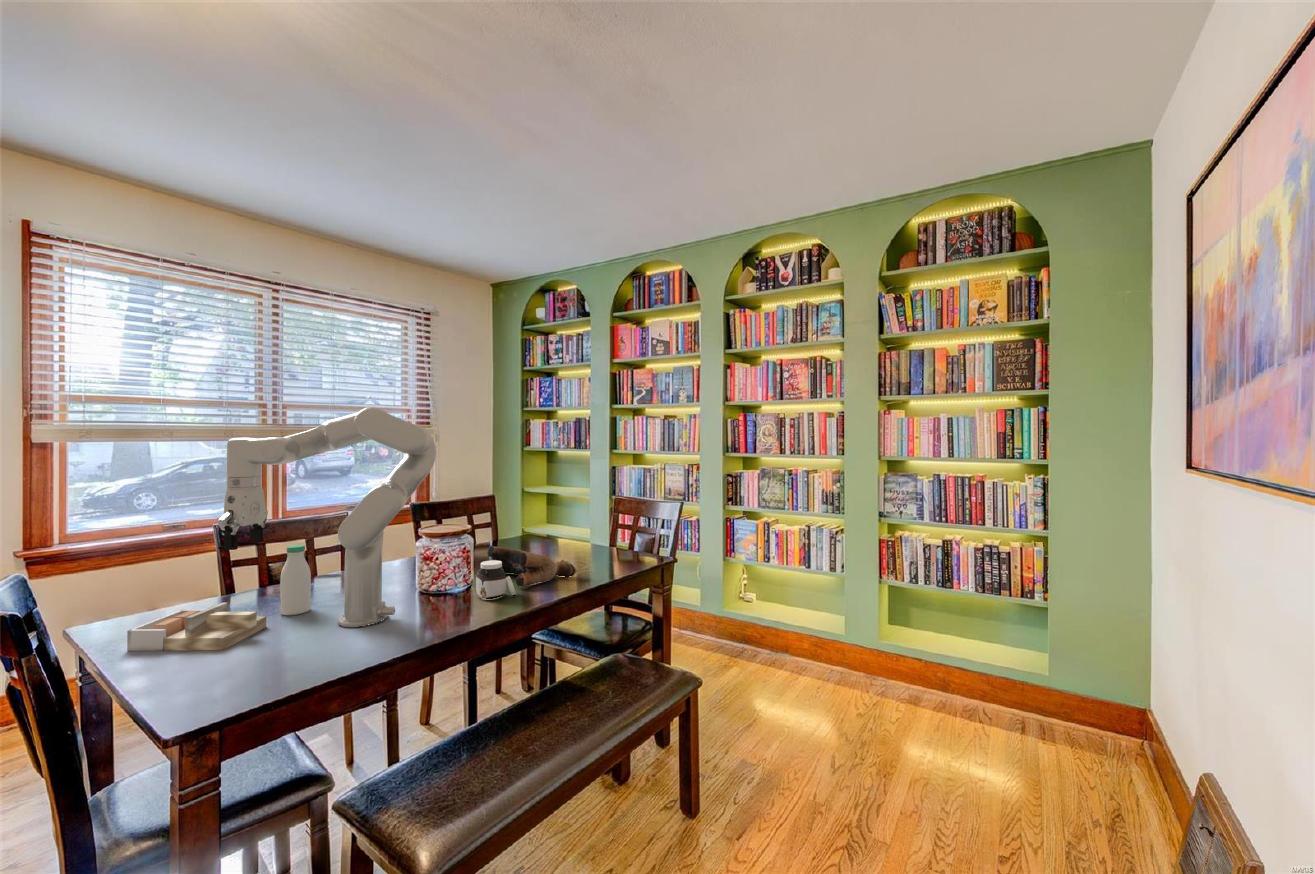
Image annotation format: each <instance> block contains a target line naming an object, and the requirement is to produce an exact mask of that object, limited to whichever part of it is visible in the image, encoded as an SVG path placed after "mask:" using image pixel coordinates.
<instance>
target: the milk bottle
mask: <svg viewBox="0 0 1315 874" xmlns="http://www.w3.org/2000/svg"><path fill="white" fill-rule="evenodd" d="M305 553H306V546H305V544H294V545H293V544H291V545H289V546H286V555H287V558H286V561H285V563H284V566H283V567H282V570H281V572H280V579H279V580H280V583H279V584H280V585H279V587H280V589H279V612H280V614H281V615H282V616H294V615H296V616H297V615H301V614H305V613H307V612H309V611H310V610H311V608H312V607H311V606H312V601H311V600H312V589H311V588H312V583H311V582H312V579H311V578H312V575H311V568H310V566H309V563H308V562H307V560H306V557H305Z"/></svg>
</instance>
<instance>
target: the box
mask: <svg viewBox="0 0 1315 874" xmlns="http://www.w3.org/2000/svg"><path fill="white" fill-rule="evenodd" d="M203 610H204V609H180V610H177V611H174V612H172V613H170V614H167V615H164V616H162V617H160V618H156V619H154V620H151V621H149V622H146V623H144V624H141V625H138V626H136V627H133V628H131V629H127V636H126V638H127V643H126V644H127V645H126V646H127V647H126V648H127V649H126V650H127V652H133V651H134V652H137V651H138V652H140V651H141V652H142V651H143V652H145V651H148V652H149V651H151V652H152V651H155V652H158V651H164V638H166V629H155V625H156V624H158V623H161V622H163V621H166V620H168V619H171V618H175V617H176V616H178V615H181V614H183V613H186V612H188V611H203Z"/></svg>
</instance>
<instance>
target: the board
mask: <svg viewBox="0 0 1315 874" xmlns="http://www.w3.org/2000/svg"><path fill="white" fill-rule="evenodd" d="M263 628H264V629H265V628H267V616H264V615H263V616H260V615H259V616H258V615H257V625H255V626H253V627H251V628H207V629H204V630H202V631H200V632H198V633H195V634H193V635H185V630H182V631H180V632H178V633H176V634H173V635H171V636H169V637H166V638H164V650H163V651H166V652H167V651H224V650H225V649H228V648H229V647H231V646H233V645H235V644H237V643H238V642H240V641H242V640H244V639H246V638H248V637H250V636H252V635H254V634H256V633H258V632H260V631H261V630H264V629H263Z"/></svg>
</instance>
